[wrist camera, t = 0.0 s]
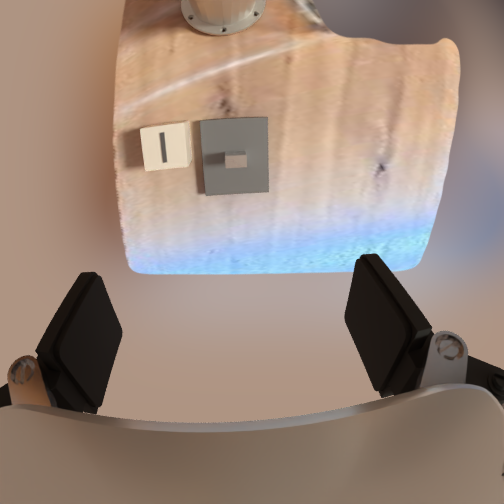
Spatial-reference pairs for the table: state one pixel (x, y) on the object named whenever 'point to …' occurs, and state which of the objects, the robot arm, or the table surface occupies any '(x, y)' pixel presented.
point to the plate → (235, 139)
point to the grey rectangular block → (235, 159)
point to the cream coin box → (166, 145)
